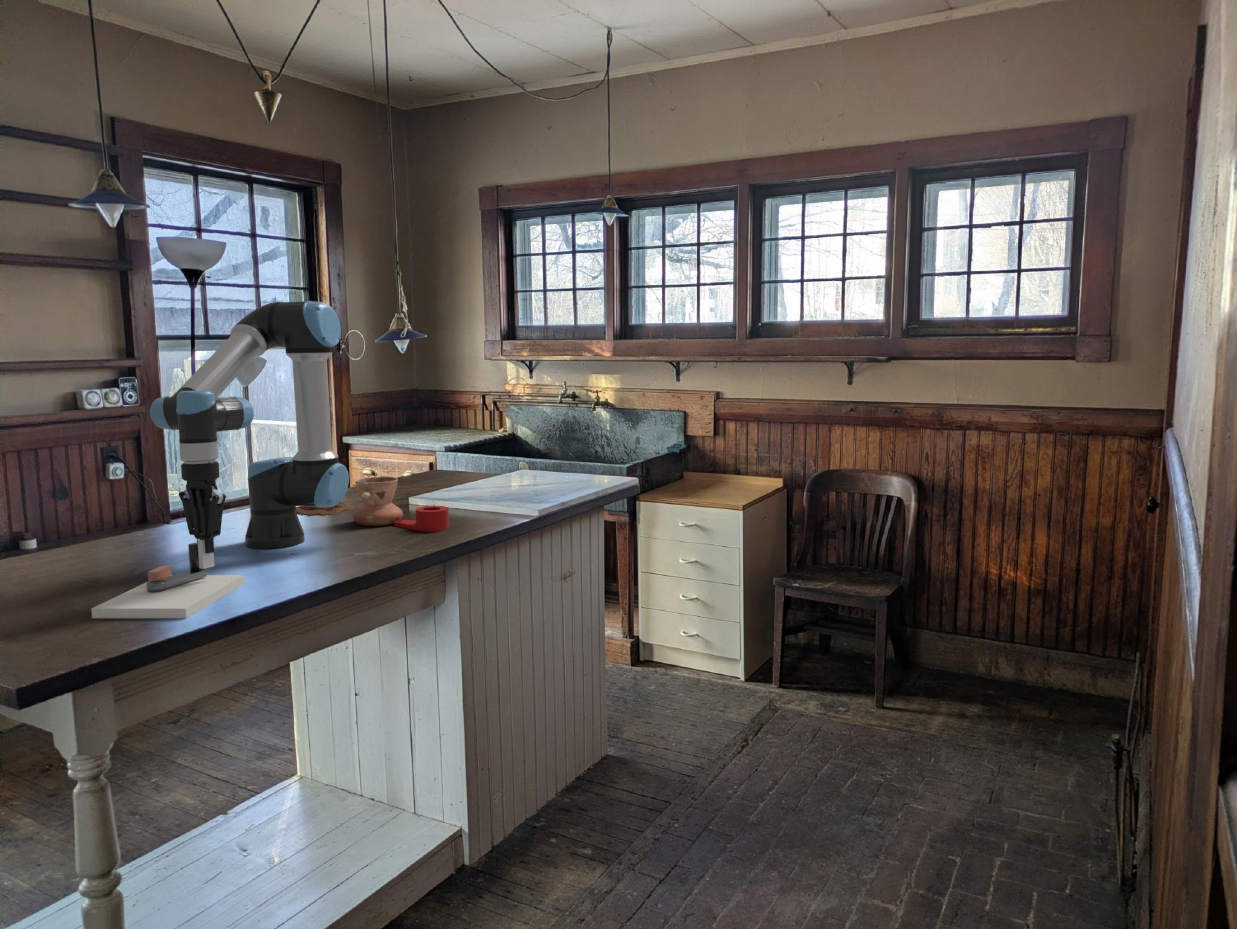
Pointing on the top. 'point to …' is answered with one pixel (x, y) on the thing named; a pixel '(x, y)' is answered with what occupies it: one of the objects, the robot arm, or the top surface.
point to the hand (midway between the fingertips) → (206, 567)
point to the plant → (324, 509)
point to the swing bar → (182, 577)
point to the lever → (427, 519)
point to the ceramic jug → (377, 501)
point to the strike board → (168, 597)
